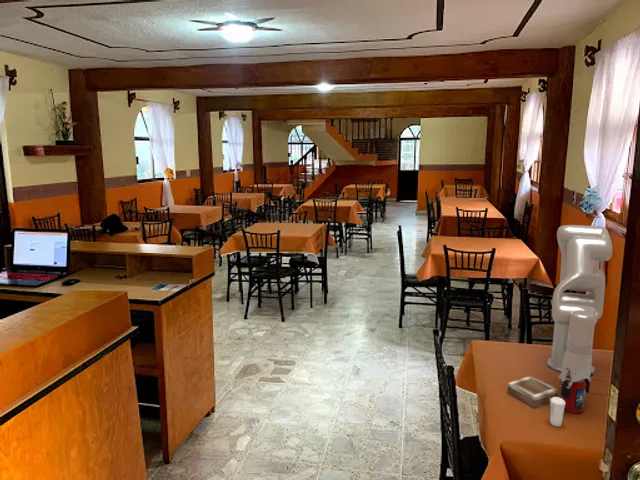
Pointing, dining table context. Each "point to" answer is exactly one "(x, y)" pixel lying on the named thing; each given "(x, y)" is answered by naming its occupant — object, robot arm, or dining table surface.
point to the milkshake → (556, 411)
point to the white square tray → (532, 391)
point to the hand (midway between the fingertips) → (574, 394)
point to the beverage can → (576, 397)
